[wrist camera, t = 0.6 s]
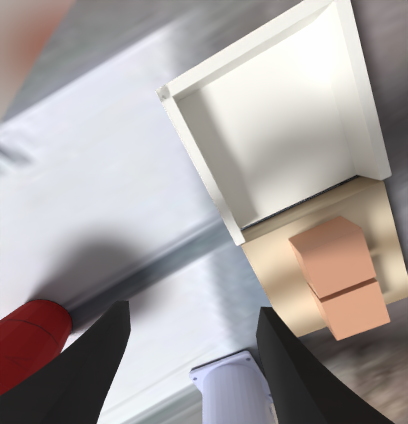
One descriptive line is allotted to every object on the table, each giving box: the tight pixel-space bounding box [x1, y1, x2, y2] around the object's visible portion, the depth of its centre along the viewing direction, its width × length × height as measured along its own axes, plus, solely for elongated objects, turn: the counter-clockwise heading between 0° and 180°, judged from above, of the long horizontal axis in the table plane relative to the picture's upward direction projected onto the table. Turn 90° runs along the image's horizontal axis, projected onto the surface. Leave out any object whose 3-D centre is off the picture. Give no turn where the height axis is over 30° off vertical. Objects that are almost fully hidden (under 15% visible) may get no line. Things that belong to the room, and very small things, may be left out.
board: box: [241, 176, 408, 337], centre depth 20 cm, size 12×12×2 cm
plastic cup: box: [0, 300, 72, 395], centre depth 19 cm, size 11×11×12 cm
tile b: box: [288, 216, 376, 299], centre depth 17 cm, size 4×4×2 cm
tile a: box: [307, 277, 390, 341], centre depth 19 cm, size 4×4×2 cm
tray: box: [155, 0, 392, 246], centre depth 17 cm, size 13×13×3 cm
